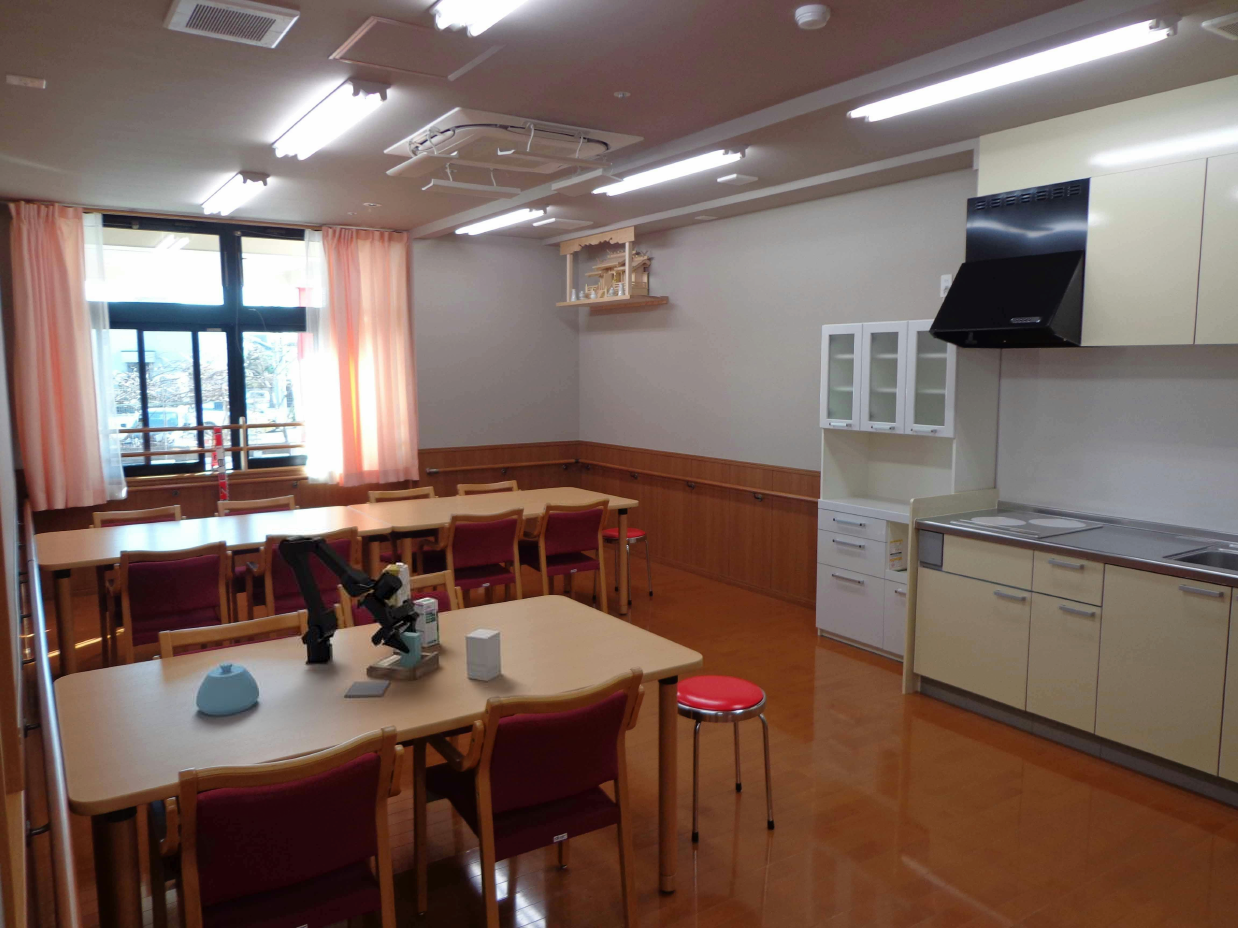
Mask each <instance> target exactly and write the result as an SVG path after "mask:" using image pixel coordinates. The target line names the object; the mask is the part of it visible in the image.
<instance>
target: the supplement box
mask: <svg viewBox="0 0 1238 928" xmlns="http://www.w3.org/2000/svg"><path fill="white" fill-rule="evenodd" d="M465 654H466V656H465V657H466V675H467V676H466V677H467V679H471V680H472V679H473V680H479V681H485V682H489V681H491V680H493V679H494V678H496V677H498V676H499V675H501V674H502V657H501V655H502V654H501V632H500V631H498V630H497V631H496V630H490V629H483V628H479V629H476V630H474V631H473V632H471V633H469V634H467V635H465Z"/></svg>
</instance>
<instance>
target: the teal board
mask: <svg viewBox="0 0 1238 928" xmlns="http://www.w3.org/2000/svg"><path fill="white" fill-rule="evenodd" d="M400 637H401V639H402V640H403V642H404V643H405V644H406V646H407V647H408V648H409V650H410V653H409V654H406V653H404V652H401V651H400V652H401V668H410V669H413V666H414V665H415V664H417V663H418V662H420V661H421V653H422V650H421V649H422V646H421V637H420V633H410V632H405V633H403V634H401V635H400Z"/></svg>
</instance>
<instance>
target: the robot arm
mask: <svg viewBox="0 0 1238 928" xmlns="http://www.w3.org/2000/svg"><path fill="white" fill-rule="evenodd" d="M277 550H278V552H279V553H278V554H279V555H280V557H281V559H282V560H283V562H284V563H285V564H287V565H288V566H289V567H290V568H291V570H292V573H293V575H294V577H295V580H296V582H297V585H298V588H299V590H300V593H301V596H302V598H303V602H304V604H305V607H306V610H307V619H306V625H307V626H306V627H307V631H306V632H305V633H304V634H303V635H302V636H301V642H302V644H303V645H306V655H307V657H306V658H307V660H306V661H305V664H306V665H309V664H312V665H313V664H315V665H317V664H328V663H329V662H330V661H331V659H332V658H333V657H334V654H333V653H334V652H333V643H331V639H332V638H334V636H335V633H336V631H337V630H338V627H339V624H338V621H339V619H338V617H337V616H336V611H335V609H334V608H331V609H329V608H328V607H327V606H326V605H325V603H324V600H323V598H322V596H321V593H320V590H319V587H318V585H317V581H316V580H315V579H316V578H315V576H314V574H313V571H312V568H311V566H310V562H309V560H310V559H309V558H310V553H312V554H313V555H314V556H315V557H317V559H319V560H320V561H321V562H322V563H323V564H324V565H325V567H326V568H328V569H329V570H330V571H331V572H332V573H333V574H334V575H335V576H336V577H338V579H339V580H340V584H341V587H342V589H343V590H344V591H345V593H346V594H348V596H349V597H351V598H358V597H361V596H363V595H364V596H363V597H361V598H359V599H357V604H356V609H357V610H360V609H362V608H365V609H366V611H368V613H369V614H370V615H371V617H372V618H373V620H372V623H374V624H376V623H378V624H379V625H380V628H378V629H377V630H376V632H375V633H374V634H373V635H372V636H371V641H370V642H371V643H372V644H373V645H374V647H377V646H379V645H382V646H386V647H389V648H392V649H394V650H399V651H401V652H404V653H406V654H409V653H410V650H409V648H408V647H407V646H406V644H405V643H404V642H403V640H402V639H401V637H400V635H399V629H400V630H402V631H403V632H402V633H401V634H403V633H405V632H410V633H417V632H416V628H415V625H416V622H417V619H418V618H419V617H420V615H419V614H418V613H417V611H415V610H414V606H415V603H414V602H413V601H414V600H412V598H411V597H410V598H408V599H406V600H404V601H402V605H400V606H398V607H396V606H395V605H393V604H392V605H389V604H388V603H387V601H386V600H390V599H391V598H392V597H393V596H394V595H395V594H396V593H397V592H398V591H399V589H400V588H401V587H402V586H403V583H402V581H401V579H400V578H399V577H397V576H396V575H394V574H390V573H389V572H388V571H386V572H383V573H381V574H380V576H379V577H378V578H373V577H372V576H370V575H369V574H367V573H366V572H364V571H363V570H362V569H361V570H360V569H358V568H355V567H353V566H352V565H351V564H350V563H348V562H347V560H345V558H344V557H342V556H341V555H340V553H338V552H337V551H336V549H334V548H333V547H332V546H331V545H329V543H328V542H327V540H326V539H325V538H324V537H321V536H318V537H314V536H313V537H312V536H310V537H308V536H307V537H305V536H302V535H300V534H298V535H297V534H296V535H293V536H290V537H287V538H283V539H282V540H281V541H280V542H279V543H278V545H277ZM393 628H394V629H393ZM382 641H383V642H382ZM421 645H422V644H421Z"/></svg>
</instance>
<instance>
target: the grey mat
mask: <svg viewBox="0 0 1238 928" xmlns="http://www.w3.org/2000/svg"><path fill="white" fill-rule="evenodd" d="M390 684H391V680H367V681H366V680H365V681H363V680H362V681H359V680H358V681H353V683H352V684H351V685H350V687H349V688H348V689H347V691H346V692H345V693H344V695H343V698H367V697H368V698H369V697H374V698H375V697H378V698H379V697H380V698H381V697H383V695H384V694H385V692H386V691H387V689H388V687H389V686H388V685H390ZM386 688H387V689H386Z"/></svg>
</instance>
